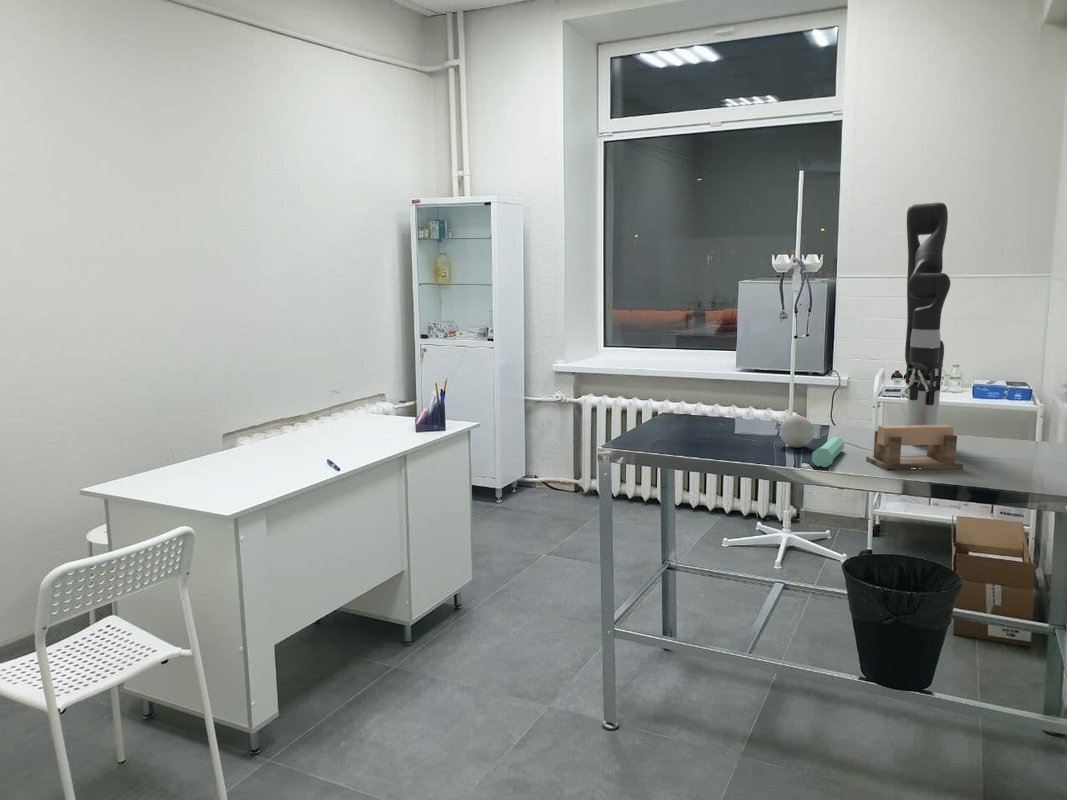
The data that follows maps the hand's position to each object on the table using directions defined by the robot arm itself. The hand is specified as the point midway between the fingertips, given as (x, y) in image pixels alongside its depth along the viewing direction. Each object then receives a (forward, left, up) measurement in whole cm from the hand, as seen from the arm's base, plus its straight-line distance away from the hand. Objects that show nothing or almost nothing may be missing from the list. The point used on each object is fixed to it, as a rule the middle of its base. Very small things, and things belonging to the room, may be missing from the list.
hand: (921, 402), depth 236 cm
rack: (+1, -1, -18) cm, 18 cm away
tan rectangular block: (+1, -2, -12) cm, 12 cm away
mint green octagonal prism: (-9, -22, -18) cm, 30 cm away
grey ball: (-25, -26, -18) cm, 40 cm away
